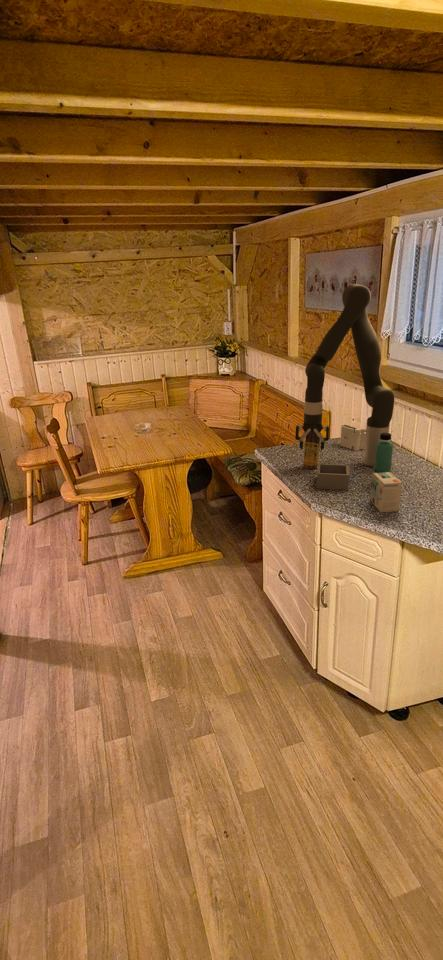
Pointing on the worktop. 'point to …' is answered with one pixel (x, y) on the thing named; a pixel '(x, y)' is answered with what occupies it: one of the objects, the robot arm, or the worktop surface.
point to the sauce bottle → (311, 449)
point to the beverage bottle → (383, 454)
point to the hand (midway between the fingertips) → (311, 449)
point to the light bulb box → (386, 491)
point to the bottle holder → (333, 476)
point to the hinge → (352, 437)
